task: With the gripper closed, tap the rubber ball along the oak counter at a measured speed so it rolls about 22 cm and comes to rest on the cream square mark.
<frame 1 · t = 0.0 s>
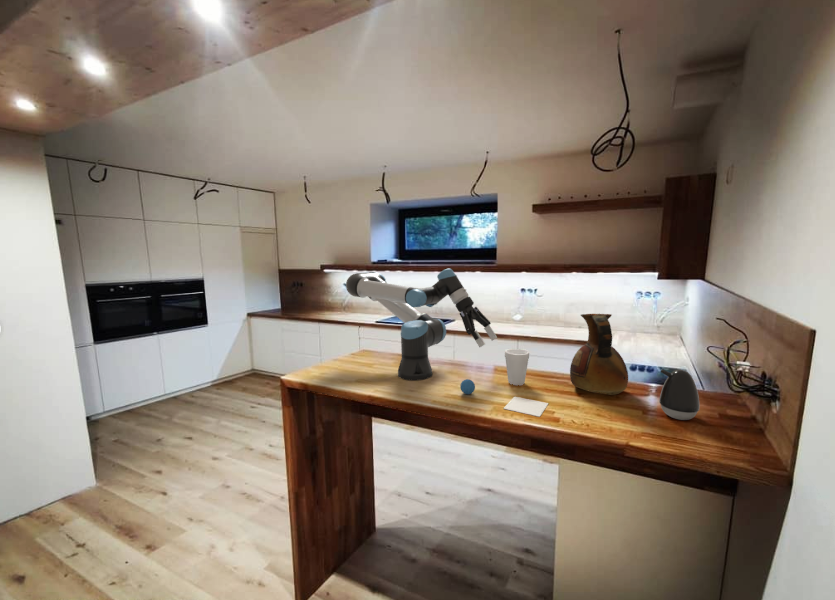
hand: (488, 342, 149), 15 cm above the table, tool tilted 35°, fingers open, 13 cm apart
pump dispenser: (677, 416, 112), on the table
ceramic pitcher: (597, 391, 134), on the table
foam cup: (516, 383, 144), on the table
ball: (467, 386, 133), on the table
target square: (526, 406, 121), on the table
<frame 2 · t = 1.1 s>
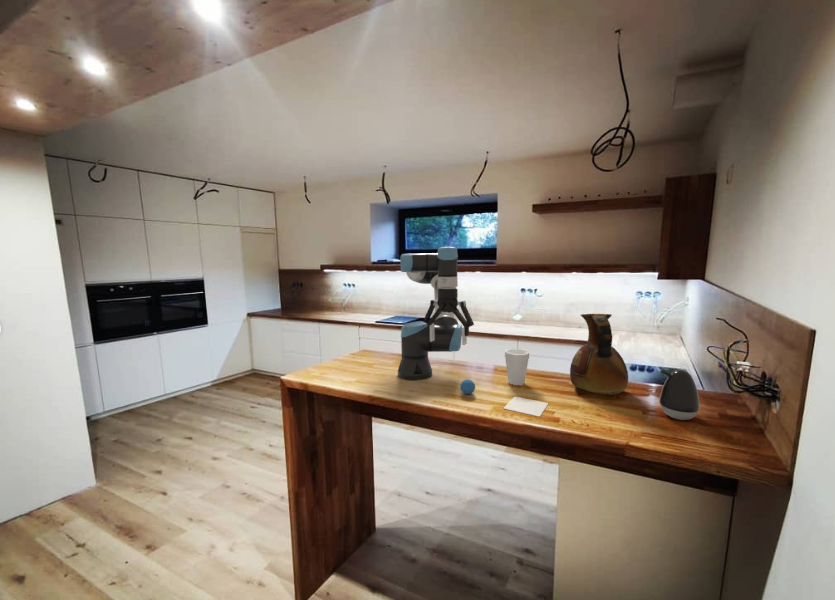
hand: (447, 342, 137), 18 cm above the table, tool pointing down, fingers open, 13 cm apart
nothing on the table moved.
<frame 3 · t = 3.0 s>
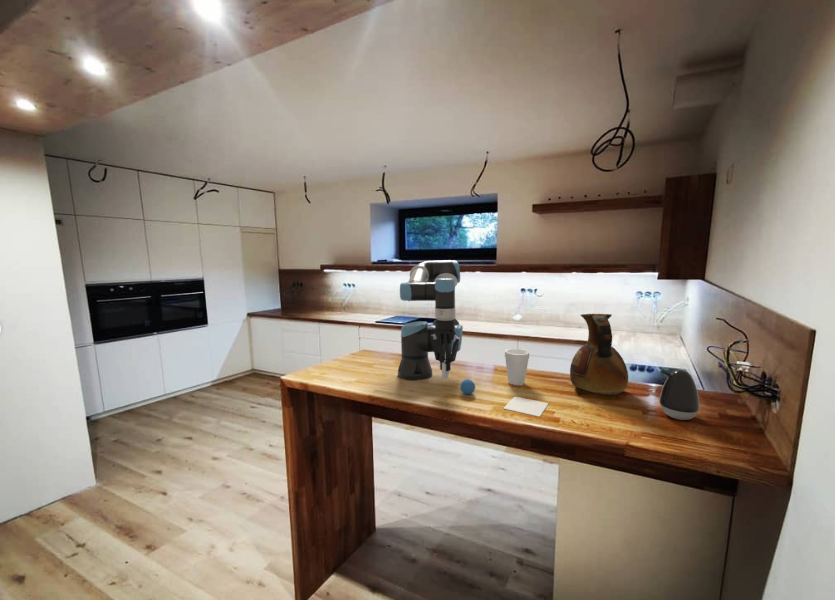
hand: (445, 378, 138), 4 cm above the table, tool pointing down, fingers closed
nothing on the table moved.
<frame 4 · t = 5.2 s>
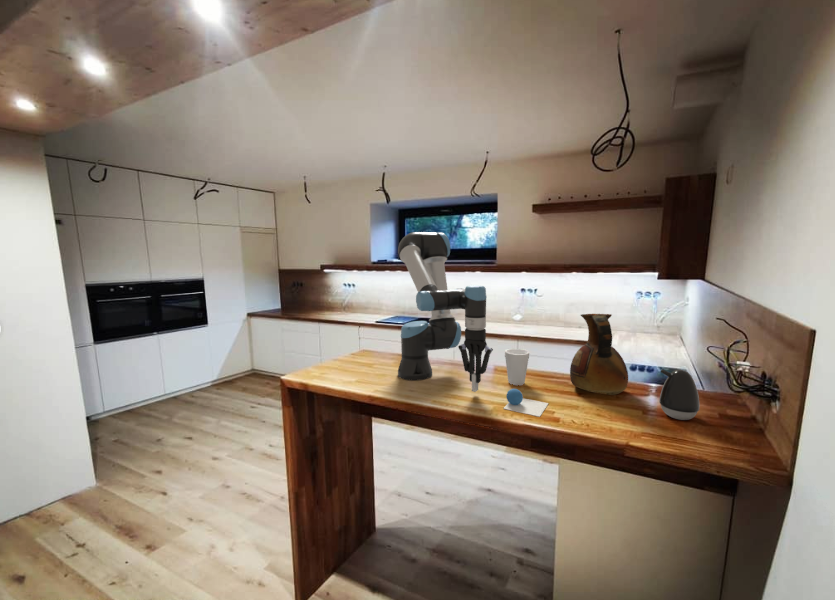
hand: (475, 390, 131), 2 cm above the table, tool pointing down, fingers closed
ball: (514, 396, 123), on the table
everything else where it was.
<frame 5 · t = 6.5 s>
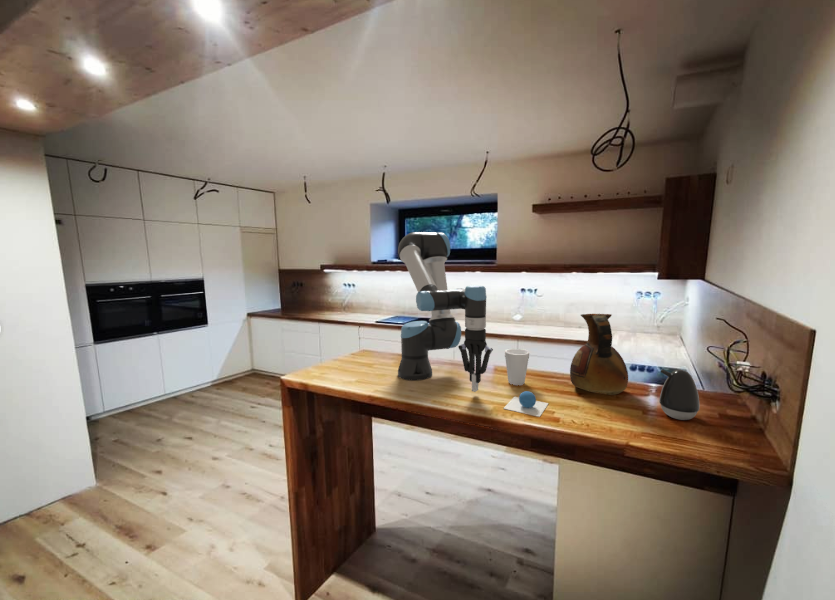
hand: (475, 390, 131), 2 cm above the table, tool pointing down, fingers closed
ball: (527, 399, 120), on the table
everything else where it was.
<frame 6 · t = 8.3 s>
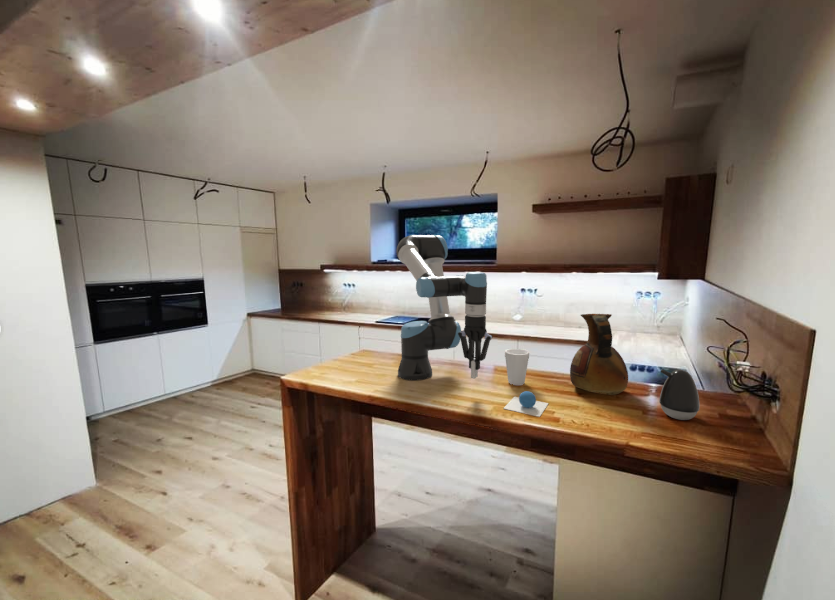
hand: (474, 377, 131), 7 cm above the table, tool pointing down, fingers closed
nothing on the table moved.
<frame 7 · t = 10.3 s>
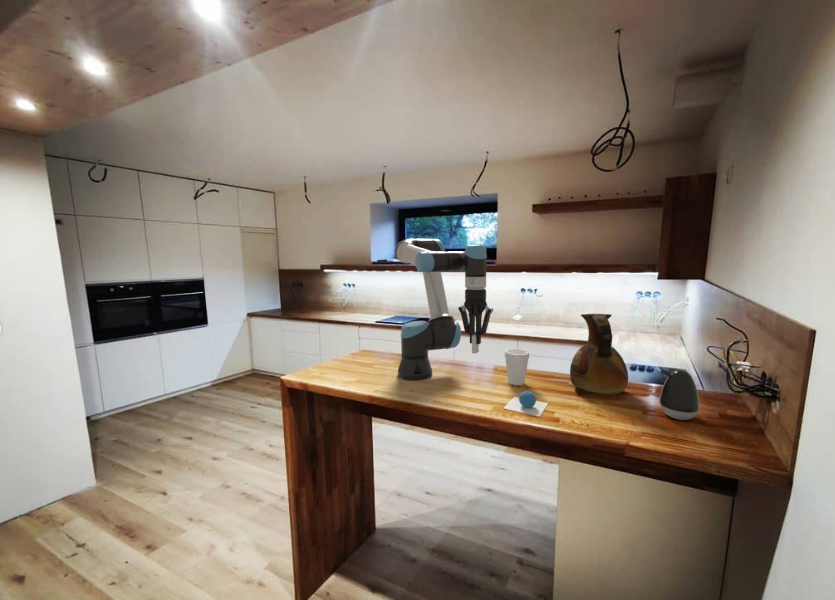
hand: (475, 352, 130), 16 cm above the table, tool pointing down, fingers closed
nothing on the table moved.
at the end: ball 0.8 cm from the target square (horizontally); ball at rest at the end (0.0 cm/s); ball moved 22.5 cm from its start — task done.
